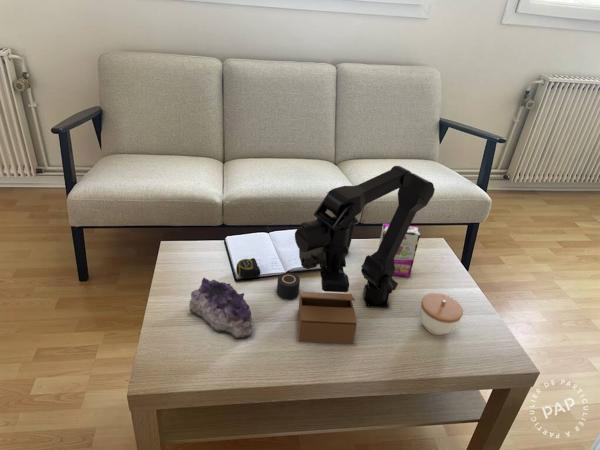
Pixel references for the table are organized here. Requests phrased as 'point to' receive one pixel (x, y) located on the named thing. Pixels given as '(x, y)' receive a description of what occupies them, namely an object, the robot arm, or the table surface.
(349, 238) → the drinking cup
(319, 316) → the carton
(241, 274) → the tape measure
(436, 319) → the trinket box
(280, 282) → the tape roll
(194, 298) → the geode
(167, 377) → the table surface
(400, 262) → the candy bar box
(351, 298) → the flap
